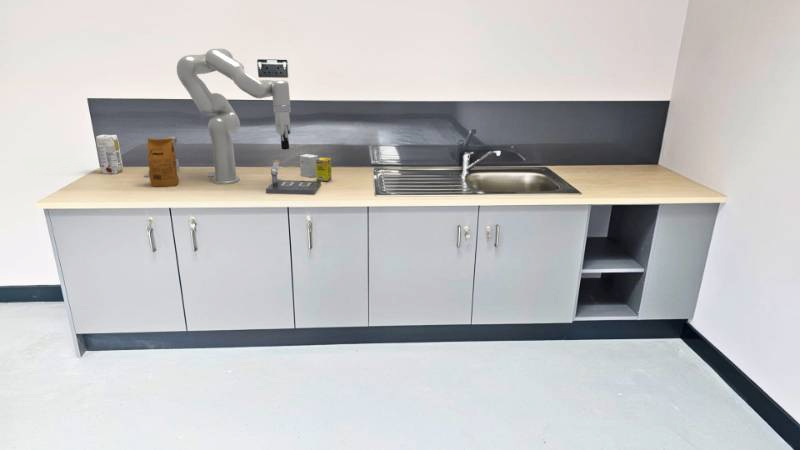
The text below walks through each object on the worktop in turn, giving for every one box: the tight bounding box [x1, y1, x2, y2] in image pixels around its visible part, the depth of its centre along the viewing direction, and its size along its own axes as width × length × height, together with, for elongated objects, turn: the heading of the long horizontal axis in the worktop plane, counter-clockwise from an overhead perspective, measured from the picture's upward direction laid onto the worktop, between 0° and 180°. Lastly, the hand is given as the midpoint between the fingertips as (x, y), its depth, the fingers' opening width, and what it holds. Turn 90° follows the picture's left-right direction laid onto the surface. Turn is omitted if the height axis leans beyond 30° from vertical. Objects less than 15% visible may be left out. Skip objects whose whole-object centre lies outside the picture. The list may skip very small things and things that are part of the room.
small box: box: [299, 153, 319, 179], centre depth 255 cm, size 8×6×10 cm
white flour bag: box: [95, 134, 124, 175], centre depth 251 cm, size 8×9×19 cm
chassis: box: [265, 175, 322, 196], centre depth 232 cm, size 22×16×6 cm
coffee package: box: [147, 137, 180, 188], centre depth 232 cm, size 10×12×22 cm
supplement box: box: [316, 157, 332, 183], centre depth 247 cm, size 6×6×11 cm
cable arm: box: [270, 159, 281, 176], centre depth 238 cm, size 20×3×2 cm, turn 9°
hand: (285, 149), depth 233 cm, fingers closed
